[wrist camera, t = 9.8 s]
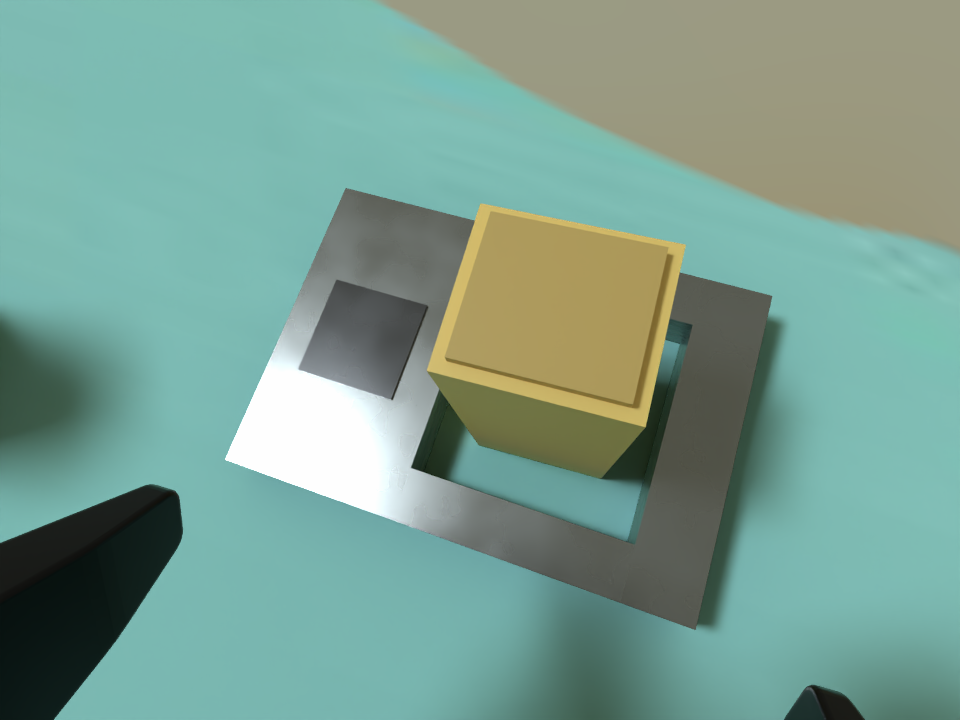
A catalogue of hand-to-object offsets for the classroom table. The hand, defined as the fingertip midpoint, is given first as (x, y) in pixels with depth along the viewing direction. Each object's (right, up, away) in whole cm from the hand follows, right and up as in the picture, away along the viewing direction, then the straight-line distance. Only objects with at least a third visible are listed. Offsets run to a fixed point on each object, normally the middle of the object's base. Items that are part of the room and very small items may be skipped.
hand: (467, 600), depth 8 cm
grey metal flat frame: (+1, +2, +14) cm, 14 cm away
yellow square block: (+3, +2, +14) cm, 14 cm away
